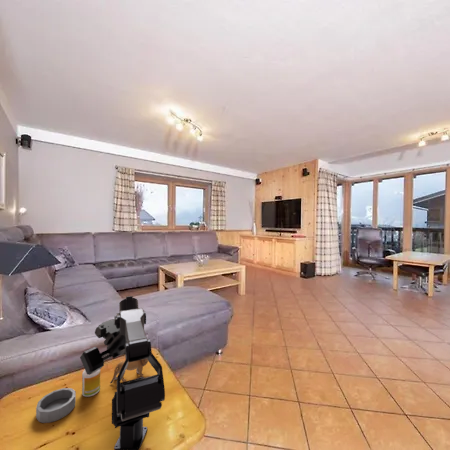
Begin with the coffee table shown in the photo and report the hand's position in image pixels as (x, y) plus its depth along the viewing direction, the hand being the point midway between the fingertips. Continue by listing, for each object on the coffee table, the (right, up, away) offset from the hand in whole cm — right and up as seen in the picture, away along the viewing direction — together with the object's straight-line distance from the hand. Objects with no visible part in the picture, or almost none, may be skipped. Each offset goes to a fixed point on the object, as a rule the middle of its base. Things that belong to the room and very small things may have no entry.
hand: (103, 361), depth 77 cm
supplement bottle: (-6, -12, +3) cm, 14 cm away
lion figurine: (+5, -12, +11) cm, 18 cm away
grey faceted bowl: (-12, -12, -5) cm, 17 cm away
